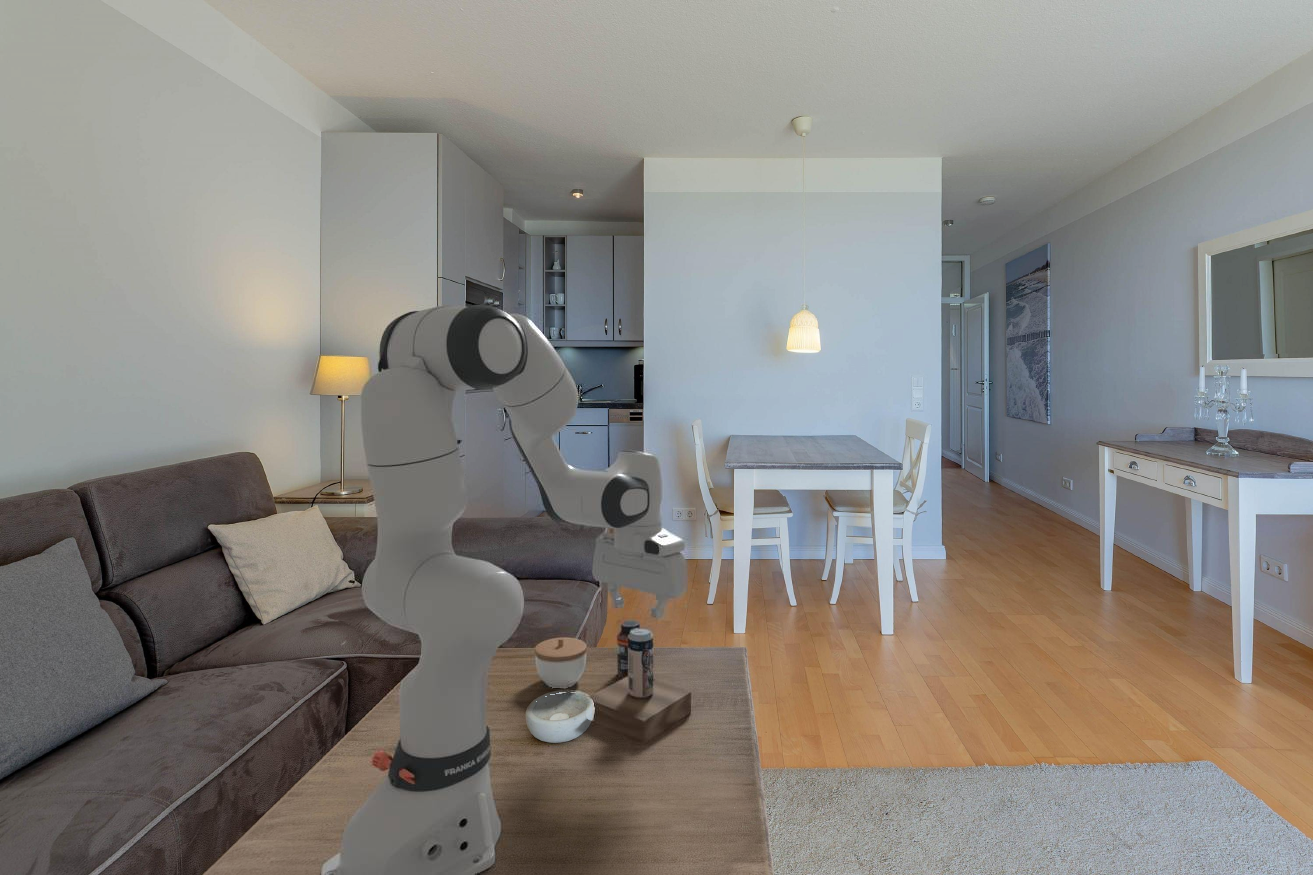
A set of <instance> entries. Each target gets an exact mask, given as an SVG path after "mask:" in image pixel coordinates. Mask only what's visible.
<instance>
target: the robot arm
mask: <svg viewBox="0 0 1313 875" xmlns="http://www.w3.org/2000/svg"><path fill="white" fill-rule="evenodd" d="M379 343H380V344H379V353H378V354H379V359H378V360H379V361H378V363H377V371H378V372H377V373H376V374H374V375H372V376H371V377H370V378H369V379H367V381H366V382H365V383H364V385H363V387H362V390H361V393H360V394H361V395H360V420H361V421H360V422H361V434H362V436H361V437H362V442H363V449H364V456H365V462H366V465H367V472H368V476H369V481H370V486H371V491H372V495H373V501H374V507H375V512H376V518H377V519H376V521H377V541H376V543H377V544H376V548H375V549H376V550H375V556H374V559H373V560H372V561H371V563H370V564H369V565H368V567H367V569H366V571H365V572H364V575H363V578H362V582H361V594H362V595H361V596H362V599H363V602H364V604H365V606H366V607H367V608H368V609H369V611H371V612H372V613H373V614H375V616H377V617H379V618H380V620H382V621H384V622H385V623H386V624H388V625H390V626H392V627H395V628H397V629H400V630H404V631H406V632H411V633H413V634H416V635H418V637H419V639H420V642H421V644H420V645H421V650H420V657H419V661H418V664H417V666H416V667H415V668H414V669H412V670H411V671H410V672H409V673H407V675H406V676H404V678H403V680H402V681H401V684H400V686H399V690H398V699H399V700H398V701H399V703H398V704H399V731H400V733H399V734H400V735H399V737H400V739H399V741H398V742H397V745H396V748H395V749H394V750H395V751H394V754H393V756H392V755H391V754H388V753H387V752H386V751H385V750H378V751H376V752H375V753H374V754H373V757H371V763H372V764H371V765H372V766H373V767H374V768H377V769H378V770H379V771H381V772H384V771H387V770H388V772H387V776H386V777H385V778H384V780H383V781H382V782H381V783H380V784H379V785H378V787H377V788H376V789H375V790H374V791H373V792H372V793H371V795H370V796H369V797H368V798H367V799H366V800H365V801H364V803H363V804H362V805H361V806H360V807H359V809H357V811H356V812H355V813H354V814H353V815H352V816H351V817H350V818H349V819H348V821H347V823H346V825H345V827H344V830H343V833H342V838H341V843H340V849H339V850H340V851H339V852H338V853H337V854H335V855H334V856H332V857H331V858H330V859H328V860H327V861H326V862H324V863H323V864H322V867H321V872H320V875H475V874H476V875H477V873H478V874H479V873H482V872H484V871H485V870H487V869H489V868H491V867H492V866H493V865H494V864H495V862H496V851H495V848H496V845H497V842H498V841H499V839H500V836H501V832H502V822H501V819H500V817H499V814H498V811H497V808H496V804H495V801H494V800H495V799H494V795H493V790H492V783H491V778H490V767H489V760H490V759H491V749H492V747H491V732H490V727H489V726H488V724H487V687H488V686H487V683H488V674H489V670H490V669H489V668H490V666H491V662H492V660H493V658H494V657H493V656H494V655H495V653H496V651H497V649H498V648H499V647H501V646H502V645H503V644H504V643H506V642H507V641H508V640H509V639H510V638H511V636H512V635H513V634H514V633H515V631H516V630H517V628H518V626H519V624H520V622H521V620H522V616H523V613H524V604H525V600H524V592H523V588H522V586H521V584H520V581H519V580H518V579H517V578H516V577H515V576H514V575H513V574H511V573H509V572H508V571H506V570H504V569H503V568H501V567H499V566H497V565H495V564H493V563H491V562H489V561H486V560H481V559H478V558H477V559H476V558H472V557H467V556H462V555H457V554H456V553H455V551H454V548H453V544H452V536H453V535H452V534H453V526H454V523H455V522H456V521H457V520H458V519H459V518H460V517H461V516H463V514H464V513H465V511H466V507H467V506H468V505H467V504H468V494H467V488H466V483H465V478H464V473H463V467H462V461H461V456H460V449H459V445H458V440H457V439H458V438H457V435H456V434H457V433H456V430H455V426H454V422H453V418H452V413H453V412H452V411H453V404H454V399H455V397H456V394H457V392H463V391H464V392H465V391H472V390H484V391H485V390H490V389H492V390H493V391H494V394H495V395H496V397H497V399H498V400H499V402H500V403H501V405H502V406H503V407H504V410H505V411H506V412H507V414H508V416H509V420H508V425H509V430H510V434H511V435H512V439H513V441H514V443H515V444H516V447H517V449H518V451H519V453H520V454H521V457H522V458H523V461H524V463H525V464H526V466H527V468H528V469H529V472H530V473H531V475H532V477H533V479H534V481H535V483H536V485H537V488H538V491H539V494H540V496H541V497H540V498H541V502H542V505H543V508H544V510H545V512H546V514H547V516H548V517H549V518H550V519H551V520H552V521H554V522H556V523H559V524H562V525H563V524H566V525H581V526H587V527H588V526H590V527H595V528H598V527H599V528H605V529H613V533H609V532H601V533H600V534H599V535H598V536H597V537H596V539H595V548H594V554H593V560H592V561H593V562H592V577H593V578H594V580H595V581H597V582H600V583H601V582H602V583H605V584H607V590H608V592H609V595H610V597H611V599H612V601H611V602H612V607H613V608H616V609H621V608H624V606H625V597H622V595H621V593H620V589H619V588H620V587H623V588H627V589H631V590H636V591H640V592H645V593H649V594H653V595H655V600H656V601H657V603H656V605H655V606H653V607H651V608H650V609H651V614H650V615H651V617H652V618H654V619H657V620H658V619H659V620H660V619H662V618H663V617H664V614H665V613H664V611H665V610H664V609H665V607H666V605H667V603H668V602H669V600H670V599H675V598H678V597H679V598H680V597H681V596H683V595H684V594H685V592H686V591H687V589H688V569H687V561H686V558H685V556H684V555H683V554H682V553H681V552H683V551H684V550H685V548H686V547H685V546H686V544H685V543H686V542H685V541H684V539H683V538H681V537H679V536H677V535H675V534H673V533H671V532H670V531H669V530H667V529H666V528H664V527H663V526H662V525H663V522H662V516H661V512H660V511H661V510H660V509H661V504H662V502H663V501H662V500H663V480H662V472H661V471H662V470H661V464H660V461H659V457H658V456H657V455H655V454H654V453H651V452H647V451H638V450H631V449H629V450H627V449H626V450H621V451H619V452H618V453H617V457H616V460H615V461H614V462H613V463H612V464H611V465H610V466H609V467H607V468H606V469H604V470H603V471H600V470H599V471H598V470H597V471H596V470H585V469H581V468H580V469H579V468H577V467H573V466H572V465H571V464H568V463H567V462H566V461H565V459H564V457H563V455H562V453H561V450H560V449H559V447H558V445H557V443H556V441H555V438H554V436H555V435H557V434H558V433H560V432H561V431H563V430H564V428H566V427H567V425H568V424H570V423H571V421H572V419H573V418H574V415H576V414H575V413H576V412H577V408H578V404H579V400H580V398H579V392H578V389H577V385H576V382H575V380H574V379H573V377H572V375H571V373H570V371H569V369H567V367H566V365H565V363H564V362H563V360H562V358H561V356H560V355H559V353H558V352H557V350H556V349H555V348H554V346H553V345H552V344H551V342H550V341H549V339H547V337H546V336H545V335H544V333H542V330H540V329H539V328H538V327H537V326H536V324H535V323H534V322H533V321H532V320H531V319H530V318H528V317H527V316H525V315H523V314H519V313H507V311H504V310H502V309H499V308H497V307H494V306H490V305H484V304H473V305H469V306H452V305H451V306H450V305H440V306H434V307H430V308H429V307H428V308H426V309H422V310H413V311H408V312H406V313H404V314H401V315H400V316H397V317H396V318H394V320H392V321H391V322H390V323H389V324H388V325H387V326H386V327H385V329H384V330H383V332H382V336H381V339H380V342H379Z"/></svg>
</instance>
